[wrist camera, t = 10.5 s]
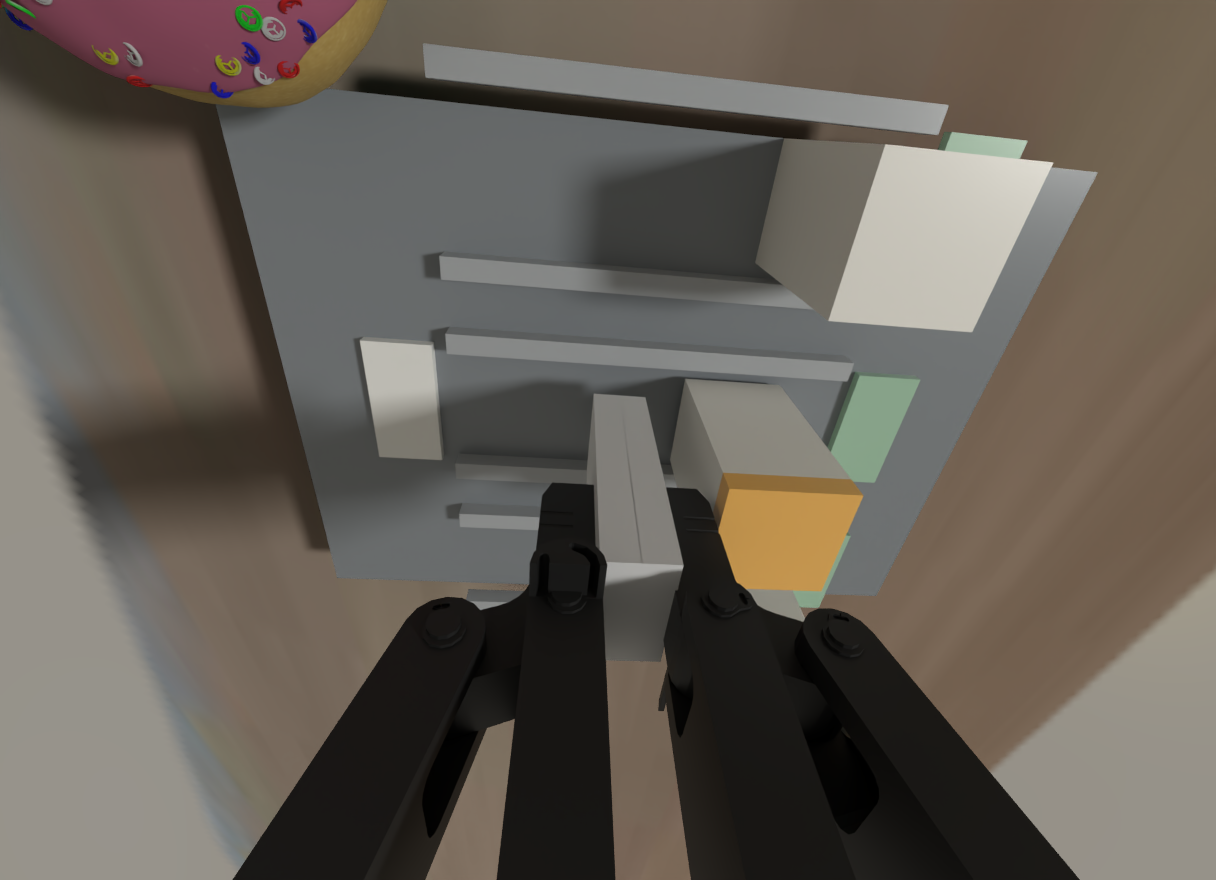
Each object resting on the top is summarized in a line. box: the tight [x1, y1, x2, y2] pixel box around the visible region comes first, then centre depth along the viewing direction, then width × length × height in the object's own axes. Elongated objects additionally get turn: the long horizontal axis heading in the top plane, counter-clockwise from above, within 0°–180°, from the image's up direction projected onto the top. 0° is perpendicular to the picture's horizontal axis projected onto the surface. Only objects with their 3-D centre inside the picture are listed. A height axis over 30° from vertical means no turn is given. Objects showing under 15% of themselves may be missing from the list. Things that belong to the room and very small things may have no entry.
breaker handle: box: [670, 379, 864, 591], centre depth 14 cm, size 3×3×6 cm
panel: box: [215, 43, 1098, 622], centre depth 15 cm, size 18×22×7 cm
